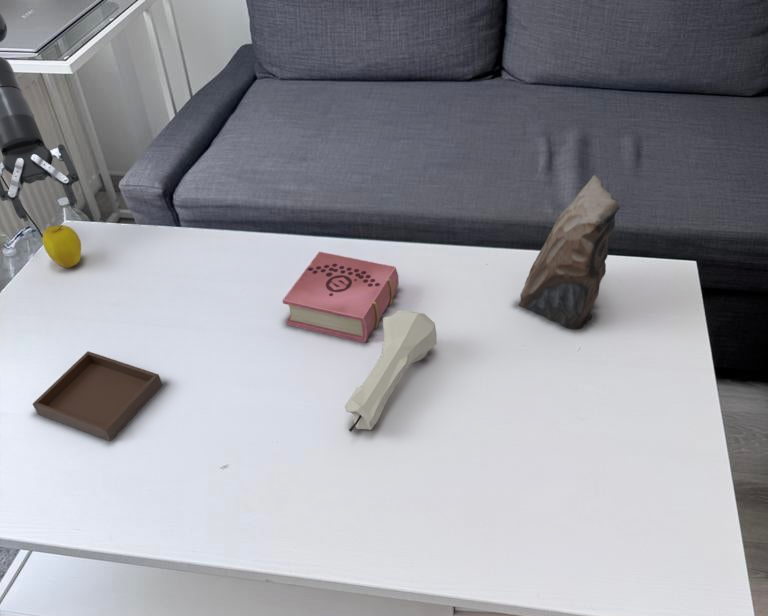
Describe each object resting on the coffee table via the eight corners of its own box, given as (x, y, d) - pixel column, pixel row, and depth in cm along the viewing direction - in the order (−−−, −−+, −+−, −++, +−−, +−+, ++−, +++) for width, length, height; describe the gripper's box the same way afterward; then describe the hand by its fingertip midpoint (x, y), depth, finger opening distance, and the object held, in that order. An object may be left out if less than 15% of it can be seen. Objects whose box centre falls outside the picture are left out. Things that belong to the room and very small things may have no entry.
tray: (38, 414, 116) (32, 403, 114) (92, 361, 123) (87, 350, 121) (110, 441, 111) (105, 430, 110) (162, 385, 118) (158, 374, 117)
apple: (92, 265, 139) (77, 226, 133) (59, 278, 137) (42, 239, 131) (81, 249, 143) (65, 211, 136) (49, 261, 141) (31, 222, 134)
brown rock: (569, 275, 131) (589, 164, 115) (622, 311, 125) (652, 198, 109) (515, 303, 127) (528, 192, 111) (567, 341, 120) (589, 229, 105)
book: (369, 343, 122) (368, 319, 118) (286, 324, 126) (282, 300, 122) (401, 292, 130) (400, 267, 126) (322, 275, 134) (319, 251, 130)
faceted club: (451, 342, 120) (385, 454, 108) (405, 340, 124) (336, 447, 112) (437, 296, 114) (365, 409, 101) (389, 296, 118) (315, 404, 106)
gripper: (-35, 123, 127) (5, 218, 130) (49, 103, 131) (86, 196, 133) (-24, 141, 134) (14, 230, 137) (55, 122, 138) (90, 209, 140)
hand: (49, 213), depth 135 cm, fingers open, 8 cm apart
